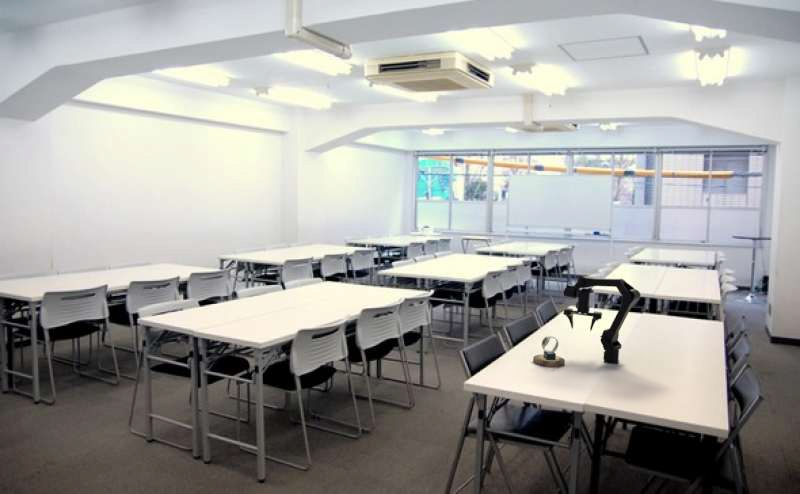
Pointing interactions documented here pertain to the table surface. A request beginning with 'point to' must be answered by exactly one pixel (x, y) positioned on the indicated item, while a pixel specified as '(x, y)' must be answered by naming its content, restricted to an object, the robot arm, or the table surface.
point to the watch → (549, 354)
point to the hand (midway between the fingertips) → (581, 329)
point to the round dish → (548, 361)
